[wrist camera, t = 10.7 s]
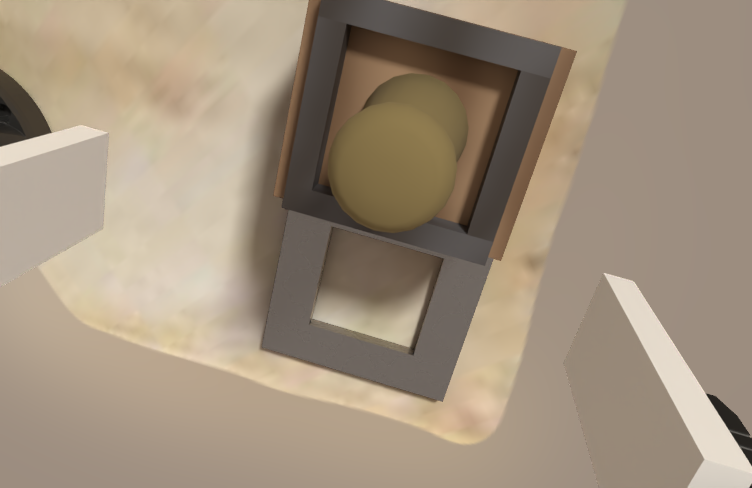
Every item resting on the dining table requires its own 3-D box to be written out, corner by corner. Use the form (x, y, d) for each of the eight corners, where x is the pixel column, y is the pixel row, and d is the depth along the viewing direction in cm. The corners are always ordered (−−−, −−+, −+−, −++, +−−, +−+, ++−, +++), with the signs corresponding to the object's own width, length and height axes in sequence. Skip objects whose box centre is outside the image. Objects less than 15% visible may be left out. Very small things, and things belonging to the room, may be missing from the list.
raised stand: (314, 158, 44) (264, 202, 33) (349, -10, 39) (304, -21, 28) (494, 209, 43) (502, 271, 32) (551, 44, 38) (582, 52, 28)
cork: (348, 166, 33) (293, 229, 23) (373, 59, 31) (326, 76, 21) (449, 195, 33) (440, 272, 23) (483, 90, 30) (489, 123, 20)
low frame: (265, 341, 50) (261, 347, 49) (299, 167, 44) (296, 171, 43) (443, 394, 49) (442, 401, 48) (503, 225, 43) (503, 229, 42)
